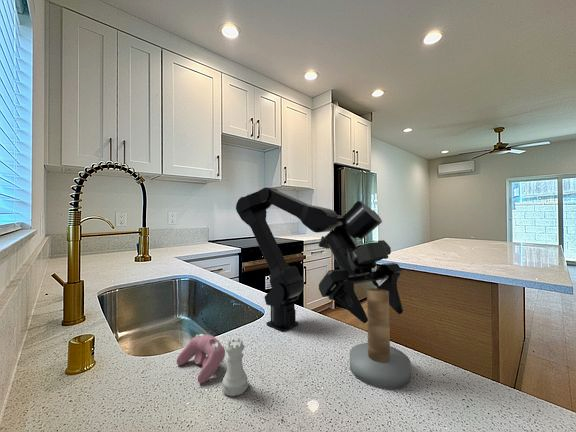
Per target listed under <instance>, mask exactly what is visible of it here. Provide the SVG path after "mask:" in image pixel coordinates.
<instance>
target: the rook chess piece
mask: <svg viewBox="0 0 576 432" xmlns="http://www.w3.org/2000/svg"><path fill="white" fill-rule="evenodd" d="M245 348H246V347H245V344H244V343H243V340H242V339H240V338H237V339H236V341H235V338H232V339H231V340H228V341H227V343H226V346H225V347H224V349H225V352H226V353H227V355H226V360H227V366H226V372H225V374H224V377H223V378H222V382H221V384H222V385H221V391H222V392H223V393H224V394H225V395H226V396H228V397H238V396H240V395H242V394H244V393H245V391H246V390H247V389H248V387H249V382H248V378H249V377H248V375H247V374H246V371H245V370H244V365H243V364H244V363H243V357H244V354H243V351H244V350H245Z"/></svg>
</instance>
